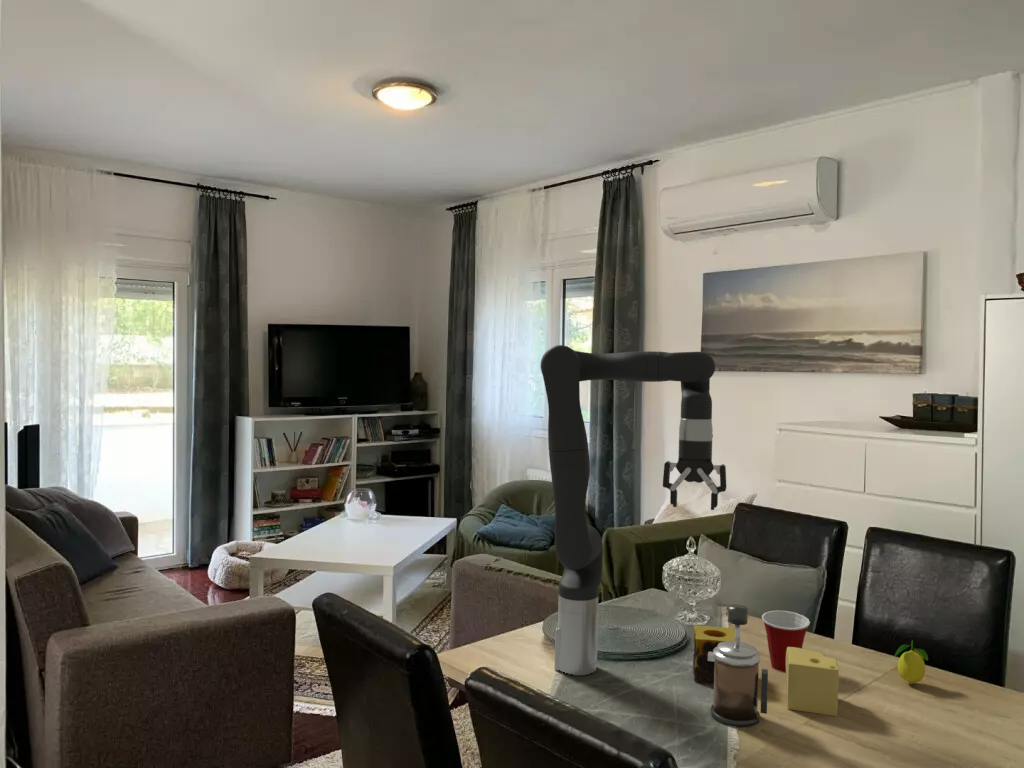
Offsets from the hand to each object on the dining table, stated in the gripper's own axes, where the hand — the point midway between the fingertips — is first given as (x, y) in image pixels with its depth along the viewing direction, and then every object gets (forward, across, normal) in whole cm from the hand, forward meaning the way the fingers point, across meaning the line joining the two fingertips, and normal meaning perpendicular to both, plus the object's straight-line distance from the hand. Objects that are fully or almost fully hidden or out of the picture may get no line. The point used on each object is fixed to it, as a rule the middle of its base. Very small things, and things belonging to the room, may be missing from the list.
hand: (693, 507), depth 182 cm
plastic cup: (+38, +21, +10) cm, 45 cm away
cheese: (+38, +26, -9) cm, 47 cm away
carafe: (+38, +11, -21) cm, 45 cm away
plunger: (+25, +11, -21) cm, 34 cm away
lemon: (+38, +48, +10) cm, 62 cm away
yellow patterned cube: (+38, +6, -1) cm, 39 cm away
